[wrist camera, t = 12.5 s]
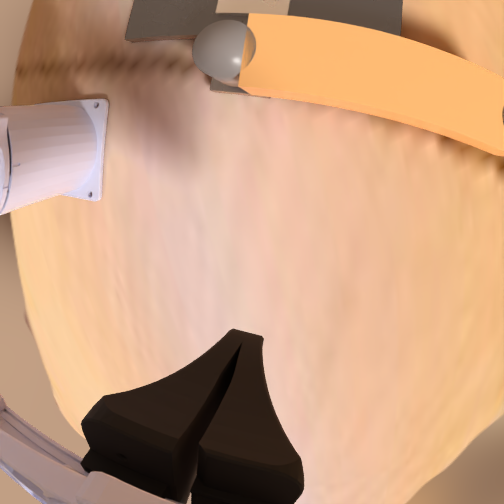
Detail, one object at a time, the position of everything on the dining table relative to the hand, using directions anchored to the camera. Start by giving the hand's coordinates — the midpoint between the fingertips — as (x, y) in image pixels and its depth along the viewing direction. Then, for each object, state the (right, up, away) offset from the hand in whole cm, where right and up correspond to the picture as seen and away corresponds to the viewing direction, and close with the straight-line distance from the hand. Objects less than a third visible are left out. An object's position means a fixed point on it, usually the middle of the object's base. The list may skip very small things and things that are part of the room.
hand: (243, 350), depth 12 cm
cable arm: (+7, +13, +2) cm, 15 cm away
